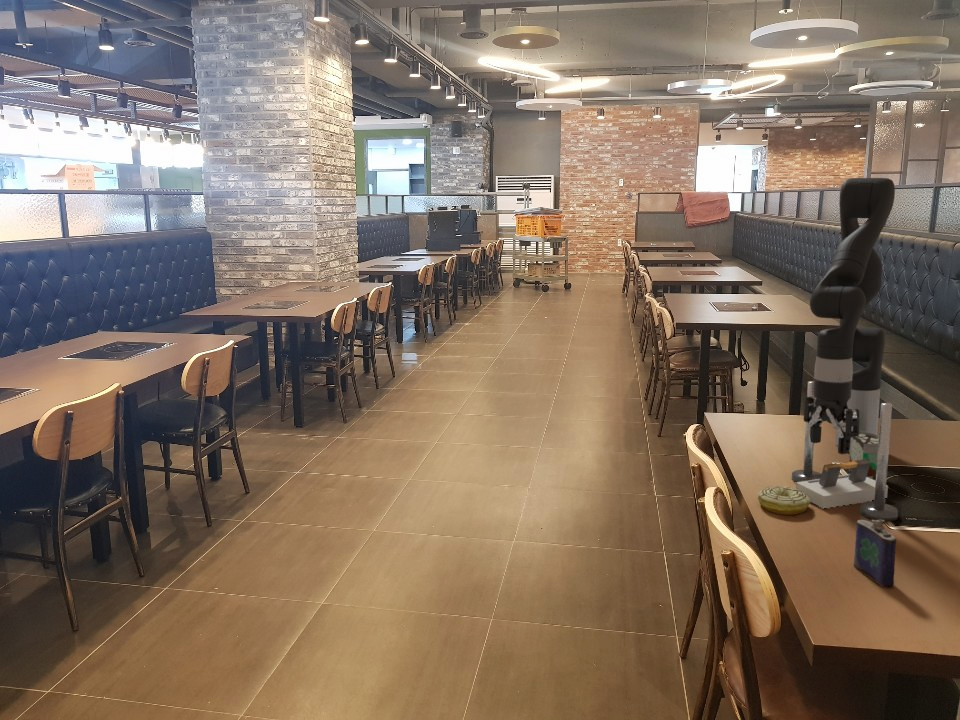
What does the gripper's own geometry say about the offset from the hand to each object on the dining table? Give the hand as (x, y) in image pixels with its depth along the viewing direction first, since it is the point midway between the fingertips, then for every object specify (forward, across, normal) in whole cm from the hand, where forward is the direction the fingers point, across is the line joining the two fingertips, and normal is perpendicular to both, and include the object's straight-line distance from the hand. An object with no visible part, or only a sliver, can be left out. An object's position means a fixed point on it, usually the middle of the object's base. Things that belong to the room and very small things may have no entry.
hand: (828, 447), depth 164 cm
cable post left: (+12, +11, -4) cm, 17 cm away
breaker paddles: (+9, 0, -4) cm, 10 cm away
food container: (+12, +8, -19) cm, 24 cm away
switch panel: (+12, 0, -4) cm, 13 cm away
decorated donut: (+13, 0, +12) cm, 17 cm away
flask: (+12, -32, +17) cm, 38 cm away
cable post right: (+12, -11, -4) cm, 17 cm away
